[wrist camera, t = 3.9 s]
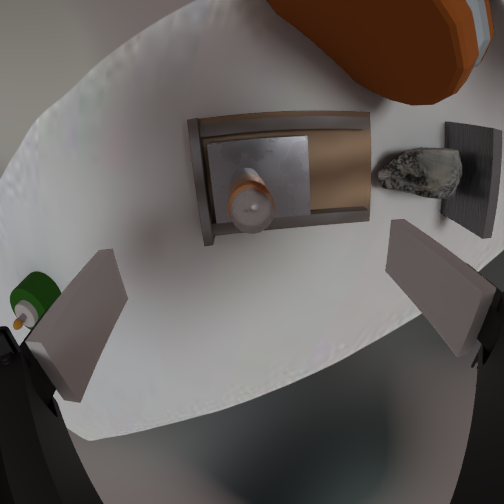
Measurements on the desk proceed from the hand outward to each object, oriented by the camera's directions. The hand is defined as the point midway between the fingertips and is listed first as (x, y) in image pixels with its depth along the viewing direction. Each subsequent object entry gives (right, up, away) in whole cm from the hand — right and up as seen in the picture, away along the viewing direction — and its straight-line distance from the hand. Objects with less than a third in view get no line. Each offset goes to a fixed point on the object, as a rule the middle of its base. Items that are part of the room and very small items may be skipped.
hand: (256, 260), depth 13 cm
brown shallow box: (+4, +10, +21) cm, 23 cm away
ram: (0, +9, +19) cm, 21 cm away
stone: (+21, +12, +21) cm, 32 cm away
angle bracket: (+30, +13, +21) cm, 39 cm away
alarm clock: (+11, +28, +13) cm, 33 cm away
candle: (-35, -6, +26) cm, 44 cm away
